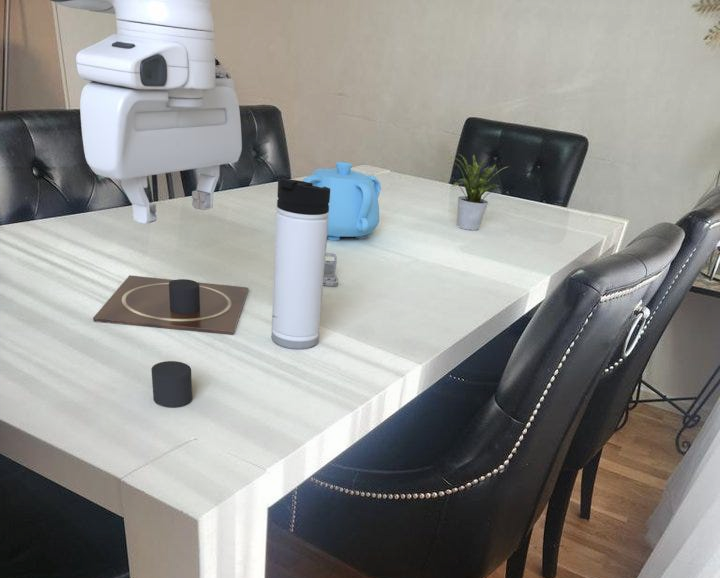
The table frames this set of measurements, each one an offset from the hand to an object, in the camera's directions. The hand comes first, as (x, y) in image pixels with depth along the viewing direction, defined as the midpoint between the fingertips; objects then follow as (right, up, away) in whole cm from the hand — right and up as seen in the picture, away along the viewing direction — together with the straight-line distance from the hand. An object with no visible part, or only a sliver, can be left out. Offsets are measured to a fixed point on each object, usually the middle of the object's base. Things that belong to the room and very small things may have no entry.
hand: (175, 215), depth 69 cm
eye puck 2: (0, -20, 0) cm, 20 cm away
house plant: (+44, +32, +85) cm, 101 cm away
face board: (-6, -3, +23) cm, 24 cm away
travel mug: (+11, -10, +17) cm, 23 cm away
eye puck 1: (-4, -5, +20) cm, 21 cm away
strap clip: (+14, +6, +40) cm, 43 cm away
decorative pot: (+15, +23, +66) cm, 71 cm away
